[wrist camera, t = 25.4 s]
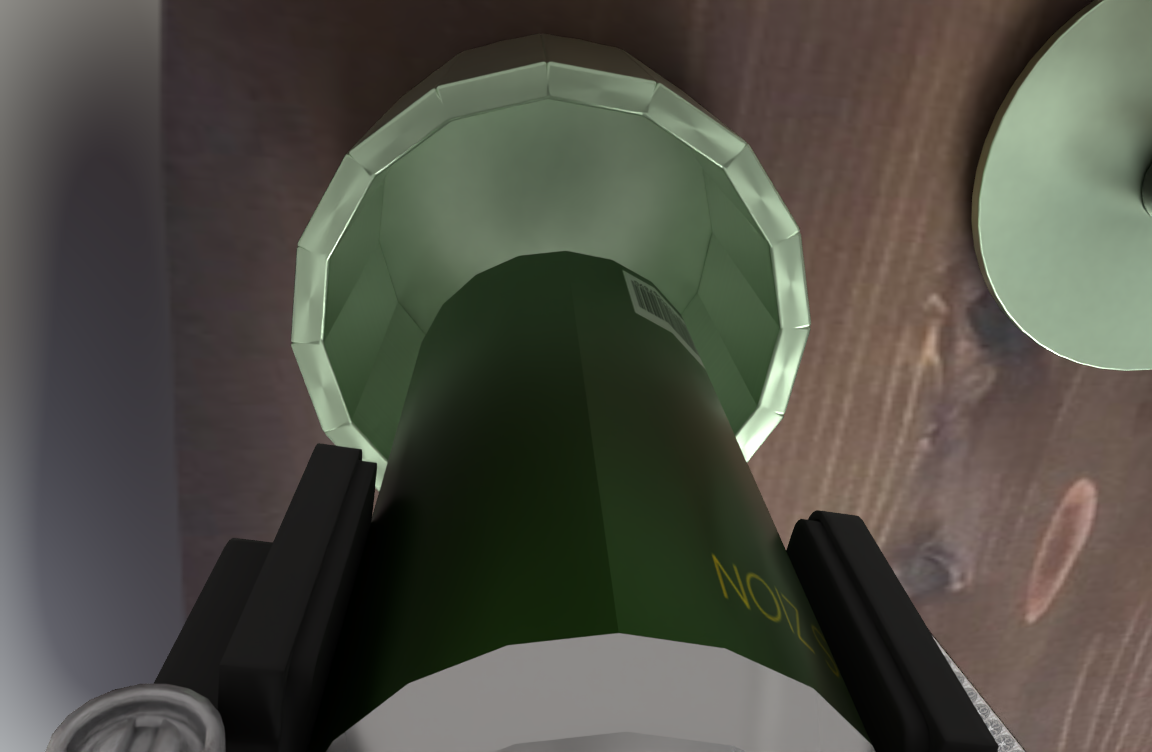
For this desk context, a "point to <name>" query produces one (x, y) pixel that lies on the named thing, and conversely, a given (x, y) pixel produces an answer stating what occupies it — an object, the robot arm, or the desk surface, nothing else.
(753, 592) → the beer can
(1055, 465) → the desk surface
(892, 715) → the robot arm
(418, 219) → the pot
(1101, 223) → the pot lid
